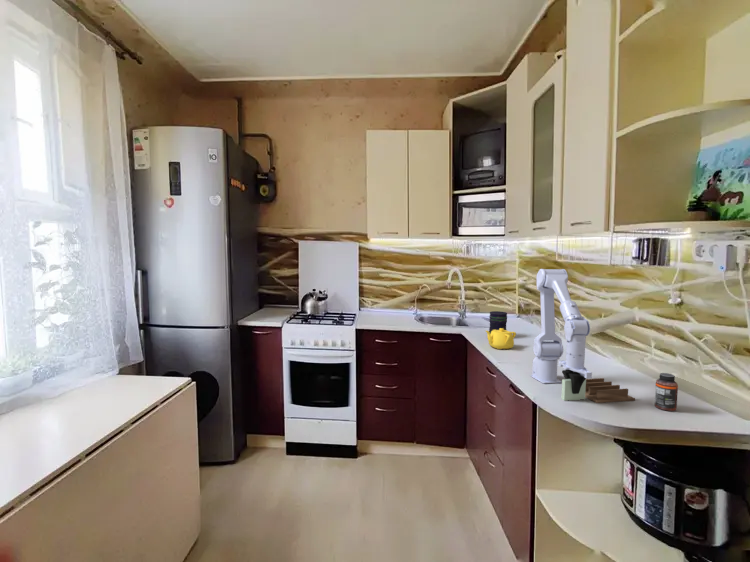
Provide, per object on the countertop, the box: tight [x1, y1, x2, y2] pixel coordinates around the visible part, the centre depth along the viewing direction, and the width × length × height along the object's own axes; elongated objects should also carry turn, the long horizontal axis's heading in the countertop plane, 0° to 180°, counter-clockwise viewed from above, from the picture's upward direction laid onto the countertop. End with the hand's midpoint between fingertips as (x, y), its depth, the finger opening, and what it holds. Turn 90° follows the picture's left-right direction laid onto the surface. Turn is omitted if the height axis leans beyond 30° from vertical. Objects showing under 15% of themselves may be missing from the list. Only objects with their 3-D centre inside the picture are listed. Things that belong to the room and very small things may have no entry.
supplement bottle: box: [654, 372, 679, 412], centre depth 133 cm, size 6×6×11 cm
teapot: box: [485, 328, 517, 350], centre depth 213 cm, size 14×13×10 cm
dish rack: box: [585, 377, 636, 404], centre depth 146 cm, size 15×15×4 cm
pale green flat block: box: [560, 378, 587, 402], centre depth 141 cm, size 2×8×7 cm, turn 100°
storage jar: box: [488, 310, 508, 334], centre depth 236 cm, size 10×10×15 cm
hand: (573, 392), depth 141 cm, fingers closed on pale green flat block, 2 cm apart
